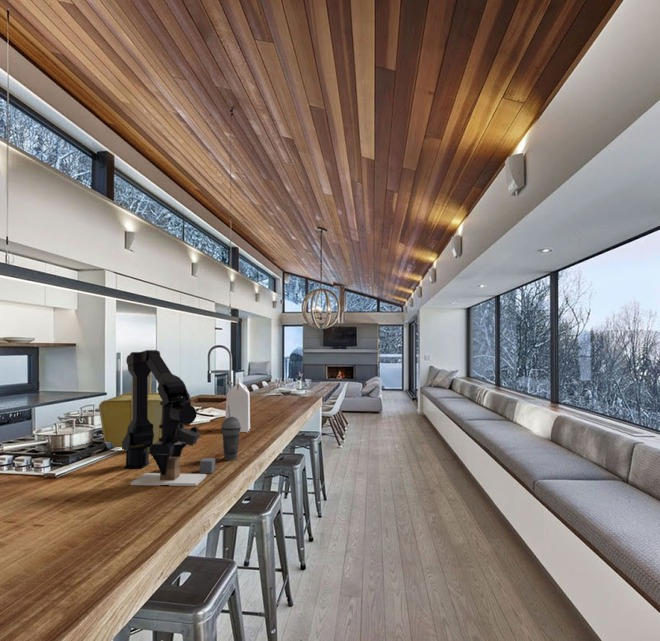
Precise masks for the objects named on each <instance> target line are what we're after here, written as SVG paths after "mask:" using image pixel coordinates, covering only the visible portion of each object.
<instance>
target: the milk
mask: <svg viewBox="0 0 660 641" xmlns="http://www.w3.org/2000/svg"><path fill="white" fill-rule="evenodd" d="M250 394H251V392H250V391H249V389H248V387H247V386H246V385H245V384H243V383H242V381H241V377H236V384H235V385H234V386H233V387H232V388H231V389H230V390H229V391H228V392H227V393H226V400H225V418H224V420H225V419H226V418H228V417H229V411H228V405H229V407H230V417H235V418H237V419H238V420H239V422H240V425H241V429H240V432H246V433H249V432H250V430H251V404H250V401H251V400H250V398H251V397H250ZM249 429H250V430H249ZM248 431H249V432H248Z"/></svg>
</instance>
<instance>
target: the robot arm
mask: <svg viewBox="0 0 660 641" xmlns="http://www.w3.org/2000/svg"><path fill="white" fill-rule="evenodd" d="M126 364H127V371H128V373H129V374H130V375H131V377H132V378H133V419H132V421H131V423H130V424H129V426H128V429H127V434H126V436H125V438H124V440H123V442H122V449H124V450H126V451H125V465H124V466H122V467H123V468H124V469H142V468H144V467H146V466H148V465H149V464H150V460H149V459H150V456H151V457H152V458H153V460H154V461H155V463H156V465H157V467H158V469H159V473H160V472H161V474H162V475H166V473H167V467H168V461H169V457H180V458H181V455H182V452H183V450H184V448H185V447H187V446H190V447H191V446H194V445H195V444H197V441H198V439H199V438H200V432H199V431H200V430H199V427H197V426H192V427H191V428H185V425H190V424H192V423H194V422H195V420H196V418H197V414H198V413H197V410H196V408H195V407H194V406H193V405H192V403H191V398H190V397H191V396H190V393H189V391H188V390H187V386H186V383H185V382H184V381H183V380H182V379H181V378H180V377H179V376H178V375H176V374H173V373H172V372H171V370H170V368H169V367H168V365H167V363H166V361H164V359H163V357H162V356H161V352H160V350H158V349H145V350H143V351H131V352H130V353H129V354H128V355H127V356H126ZM150 373H151V374H152V376H154V378H155V380H156V381H157V388H156V390H157V393H159V395H160V397H161V399H162V401H161V402H160V405H162V424H160V425H159V428H161V437H160V438H159V442H156V443H154V444H152V443H153V438H154V432H153V424H152V423H150V421H149V420H148V381H149V374H150ZM130 445H131V446H130ZM148 447H149V450H148Z"/></svg>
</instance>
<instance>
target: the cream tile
mask: <svg viewBox="0 0 660 641" xmlns="http://www.w3.org/2000/svg"><path fill="white" fill-rule="evenodd" d="M206 477H207V473H180V476H179V477H178V478H177V479H175V480H160V472H159V473H158V472H144V473H143V474H142V475H140V476H138V477H136V478H135V479H134V480H131V482H130V486H160V485H169V486H168V487H173V486H175V487H176V486H177V487H197V486H198V485H199V484H200V483H201V482H202V481H204V479H205V478H206Z"/></svg>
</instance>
